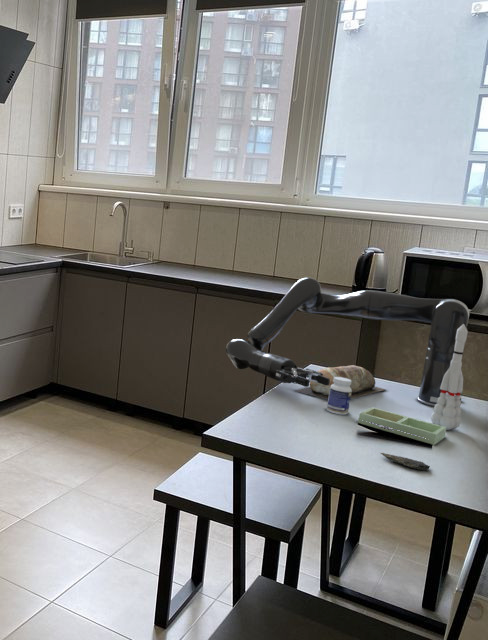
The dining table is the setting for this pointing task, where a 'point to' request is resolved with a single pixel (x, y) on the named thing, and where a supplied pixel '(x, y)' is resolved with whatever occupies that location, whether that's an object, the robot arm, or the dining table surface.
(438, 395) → the robot arm
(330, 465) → the dining table surface
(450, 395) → the rocket model
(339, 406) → the pill bottle
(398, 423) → the holder
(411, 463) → the arrowhead
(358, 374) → the bread loaf
